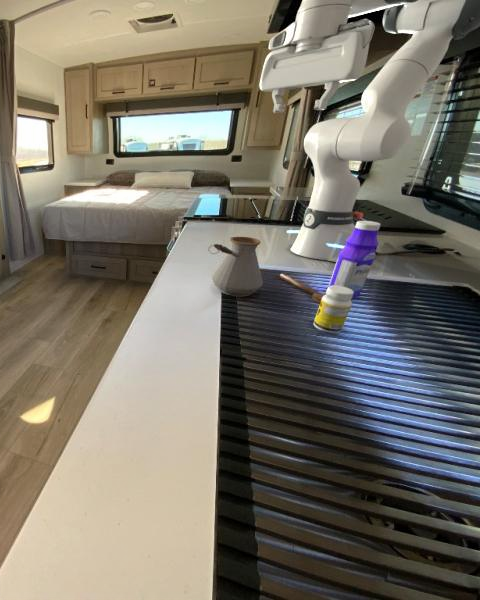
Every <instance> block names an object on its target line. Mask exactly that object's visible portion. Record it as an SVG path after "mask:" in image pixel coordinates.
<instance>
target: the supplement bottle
mask: <svg viewBox="0 0 480 600" xmlns="http://www.w3.org/2000/svg"><path fill="white" fill-rule="evenodd" d="M328 286H329V285H328ZM328 286H327V289H326V291H325V294H326V295H324V296H323V297H322V300H321V303H319V306H318V309H317V311H316V314H315V317H314V320H313V326H314V327H315V328H316V329H317V330H319V331H322V332H325V333H328V334H339V333H341V332H342V331H343V330H344V329H343V328H344V326H345V323H346V321H347V319H348V315H349V313H350V310H351V308H352V306H353V302H352V299H353V298H352V296H353V294H354V292H353V290H351V289H349V288H346V287H343V286H337V285H332V286H329V287H328Z"/></svg>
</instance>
